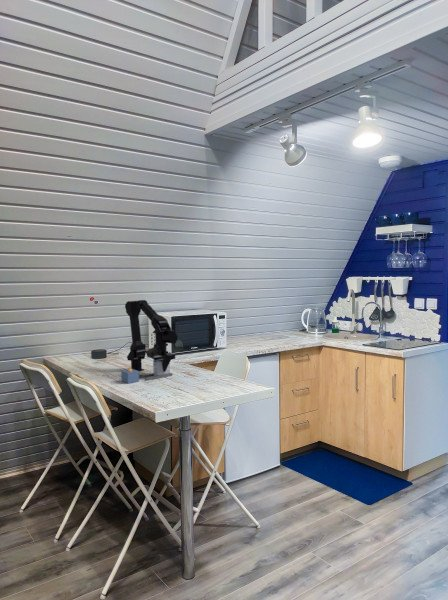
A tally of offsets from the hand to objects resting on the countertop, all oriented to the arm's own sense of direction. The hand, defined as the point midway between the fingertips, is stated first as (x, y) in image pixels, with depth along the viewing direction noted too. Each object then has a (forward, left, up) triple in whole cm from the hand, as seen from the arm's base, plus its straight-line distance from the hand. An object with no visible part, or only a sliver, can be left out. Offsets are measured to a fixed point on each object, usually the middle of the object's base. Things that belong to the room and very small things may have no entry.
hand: (161, 370), depth 241 cm
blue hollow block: (0, -19, -2) cm, 19 cm away
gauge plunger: (0, -19, 0) cm, 19 cm away
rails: (0, -4, -2) cm, 5 cm away
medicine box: (0, 0, -3) cm, 3 cm away
